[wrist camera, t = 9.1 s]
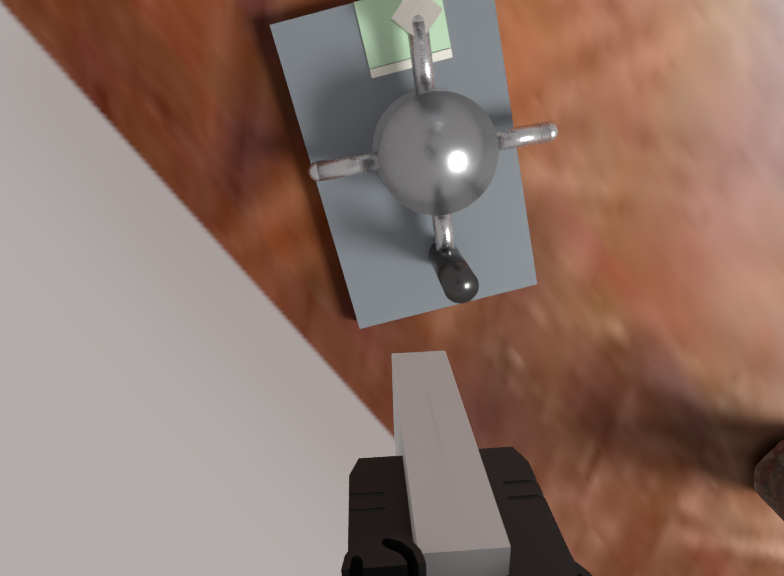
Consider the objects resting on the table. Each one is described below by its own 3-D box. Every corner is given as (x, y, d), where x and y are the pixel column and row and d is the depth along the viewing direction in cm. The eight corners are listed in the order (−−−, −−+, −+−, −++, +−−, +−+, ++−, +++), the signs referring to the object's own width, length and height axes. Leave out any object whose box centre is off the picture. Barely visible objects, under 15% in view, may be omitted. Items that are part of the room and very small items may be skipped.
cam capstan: (335, 285, 35) (331, 325, 29) (277, 14, 29) (257, -8, 23) (552, 248, 35) (594, 280, 29) (539, -31, 29) (588, -63, 23)
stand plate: (272, 27, 31) (269, 24, 30) (484, -29, 30) (489, -34, 29) (359, 321, 38) (359, 329, 37) (531, 278, 38) (537, 284, 36)
